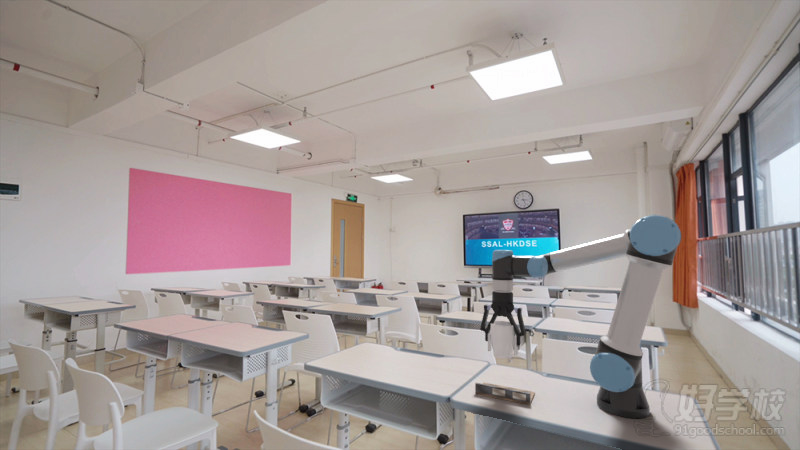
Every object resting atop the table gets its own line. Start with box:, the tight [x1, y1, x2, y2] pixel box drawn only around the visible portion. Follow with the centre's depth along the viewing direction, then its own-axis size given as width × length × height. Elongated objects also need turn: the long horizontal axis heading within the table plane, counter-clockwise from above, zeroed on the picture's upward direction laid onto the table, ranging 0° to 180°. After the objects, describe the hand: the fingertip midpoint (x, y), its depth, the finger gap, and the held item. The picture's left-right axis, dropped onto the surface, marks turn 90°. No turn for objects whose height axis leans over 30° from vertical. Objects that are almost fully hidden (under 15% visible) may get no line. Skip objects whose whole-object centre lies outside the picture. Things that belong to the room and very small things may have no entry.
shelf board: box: [474, 382, 536, 406], centre depth 133 cm, size 19×11×4 cm, turn 62°
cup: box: [489, 320, 516, 360], centre depth 136 cm, size 9×9×12 cm
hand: (502, 352), depth 135 cm, fingers closed on cup, 9 cm apart
